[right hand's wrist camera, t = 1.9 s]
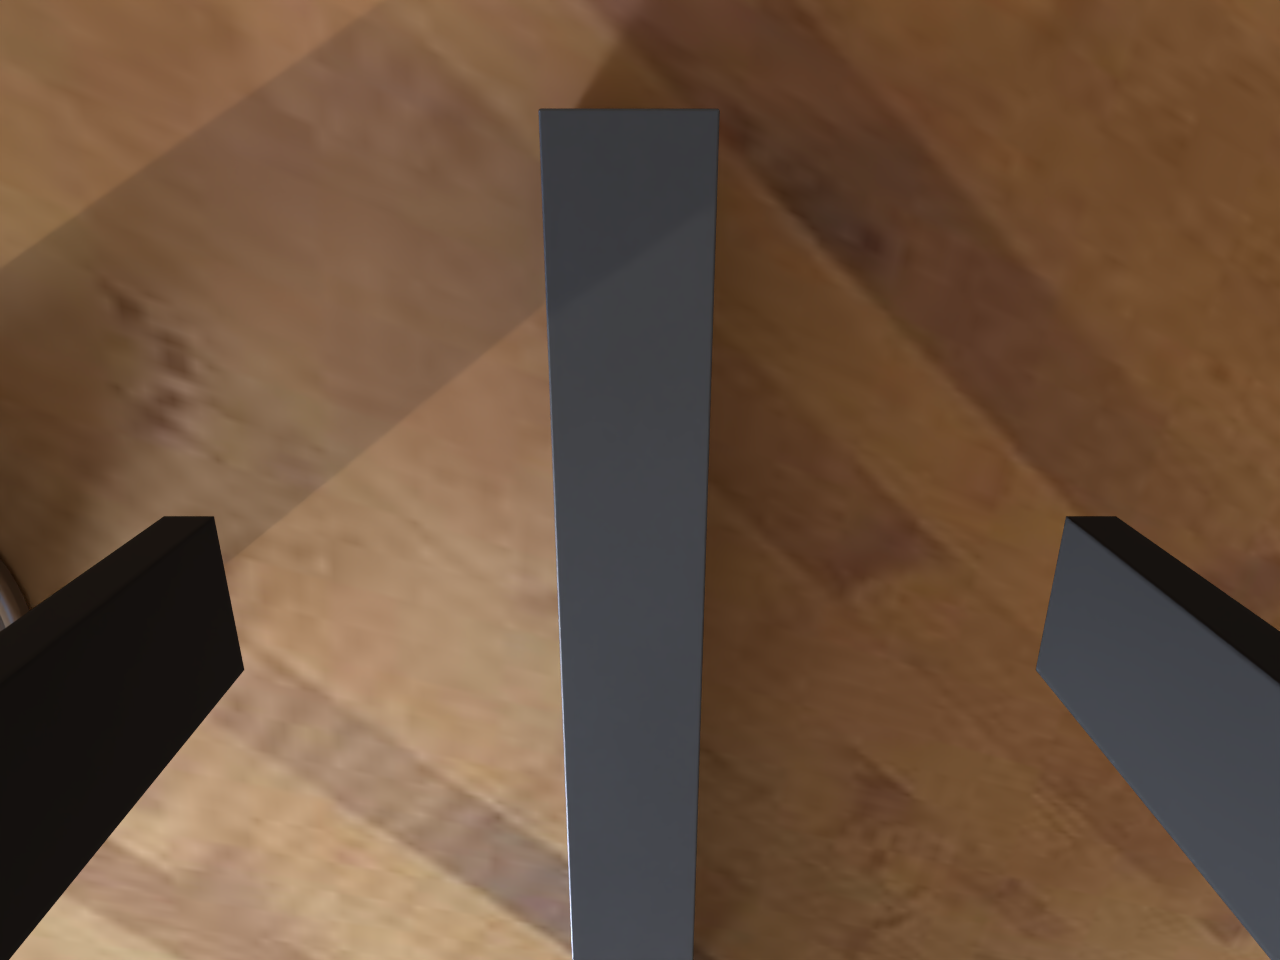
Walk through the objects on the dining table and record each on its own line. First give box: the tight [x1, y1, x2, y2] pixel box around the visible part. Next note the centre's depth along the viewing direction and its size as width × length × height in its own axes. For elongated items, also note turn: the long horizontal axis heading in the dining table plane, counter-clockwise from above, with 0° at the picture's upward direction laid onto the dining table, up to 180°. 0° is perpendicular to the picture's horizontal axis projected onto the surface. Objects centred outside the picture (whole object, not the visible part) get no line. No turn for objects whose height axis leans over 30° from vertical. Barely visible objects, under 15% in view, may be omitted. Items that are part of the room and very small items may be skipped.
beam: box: [539, 109, 720, 960], centre depth 36 cm, size 55×5×8 cm, turn 0°
